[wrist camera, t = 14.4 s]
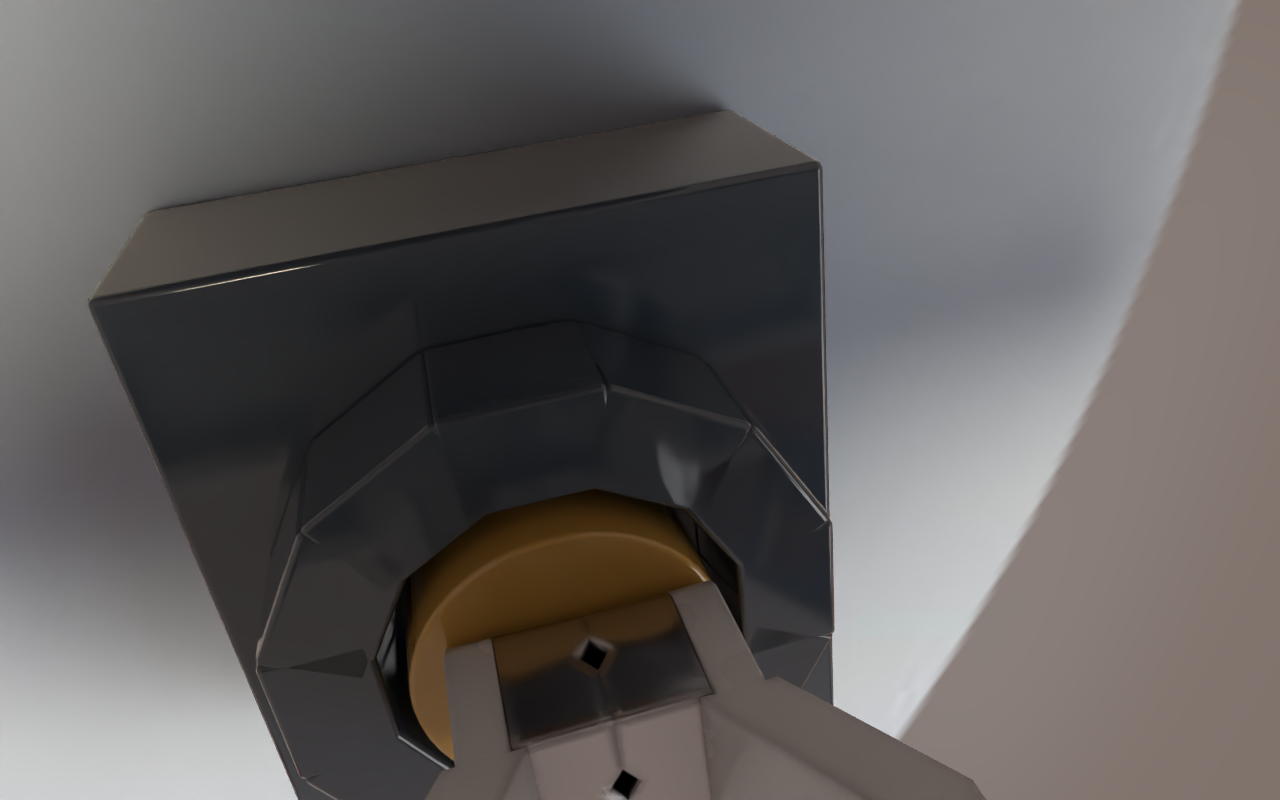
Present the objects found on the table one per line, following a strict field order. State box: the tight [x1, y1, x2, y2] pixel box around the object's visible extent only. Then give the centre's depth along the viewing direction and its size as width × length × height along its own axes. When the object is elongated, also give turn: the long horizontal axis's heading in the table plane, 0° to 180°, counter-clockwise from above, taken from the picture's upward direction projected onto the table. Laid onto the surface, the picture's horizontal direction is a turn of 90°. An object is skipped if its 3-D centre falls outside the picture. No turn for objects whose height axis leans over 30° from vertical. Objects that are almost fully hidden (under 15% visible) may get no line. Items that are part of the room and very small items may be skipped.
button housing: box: [88, 110, 834, 800], centre depth 13 cm, size 9×8×5 cm
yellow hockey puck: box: [403, 489, 712, 761], centre depth 11 cm, size 4×4×2 cm
